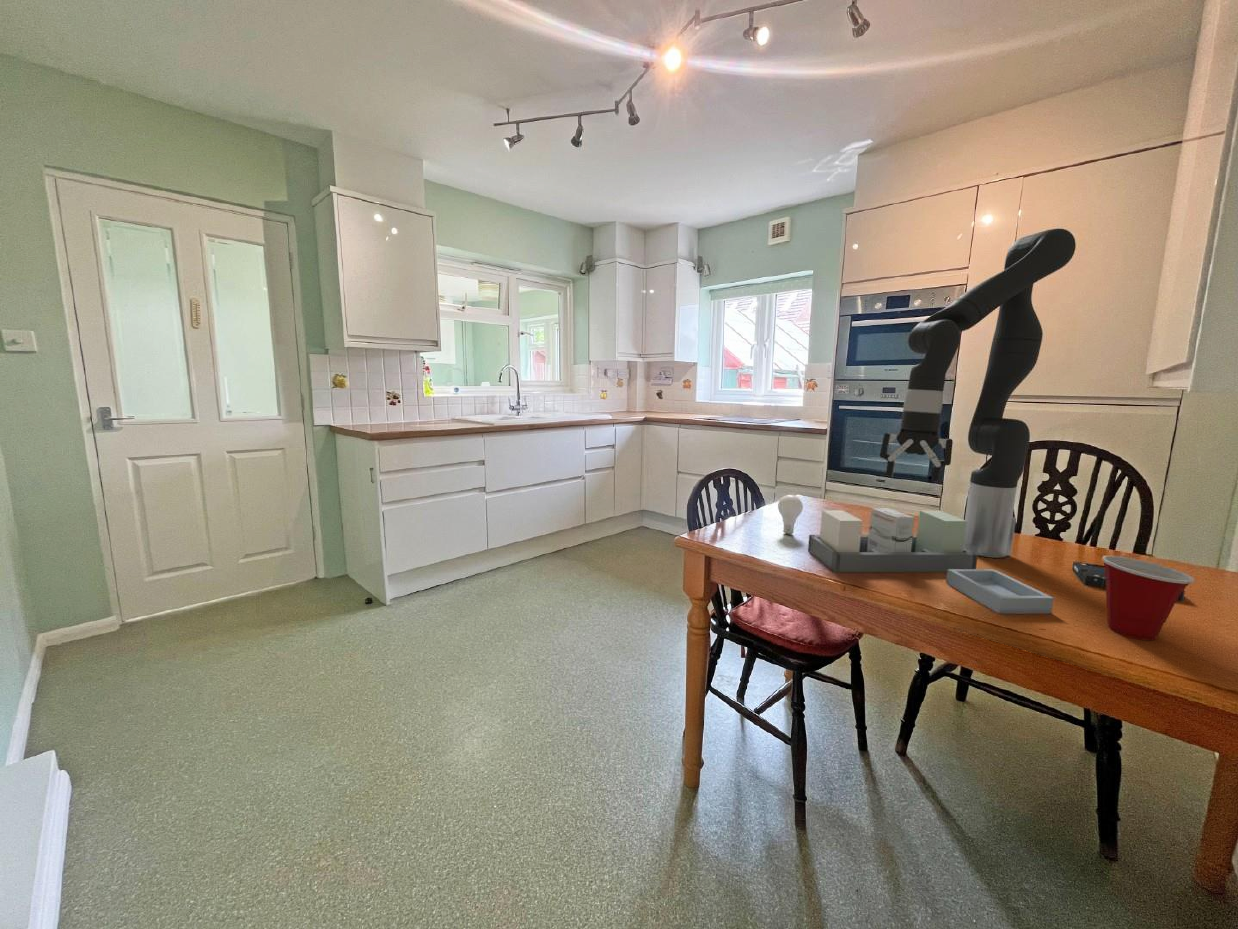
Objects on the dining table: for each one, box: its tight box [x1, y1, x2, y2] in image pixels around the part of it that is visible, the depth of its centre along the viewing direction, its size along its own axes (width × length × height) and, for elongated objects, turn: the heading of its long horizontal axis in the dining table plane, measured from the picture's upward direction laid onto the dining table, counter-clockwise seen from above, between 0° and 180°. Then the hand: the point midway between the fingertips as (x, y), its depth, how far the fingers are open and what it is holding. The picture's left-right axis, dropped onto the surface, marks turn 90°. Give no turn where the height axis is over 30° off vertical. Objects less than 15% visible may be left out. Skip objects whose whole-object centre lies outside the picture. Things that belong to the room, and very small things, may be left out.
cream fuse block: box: [819, 509, 863, 552], centre depth 116 cm, size 5×9×11 cm, turn 3°
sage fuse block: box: [915, 510, 967, 552], centre depth 117 cm, size 5×9×11 cm, turn 3°
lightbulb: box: [777, 494, 804, 535], centre depth 136 cm, size 6×6×11 cm
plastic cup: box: [1101, 555, 1195, 641], centre depth 84 cm, size 11×11×12 cm
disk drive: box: [1071, 561, 1186, 602], centre depth 106 cm, size 10×3×15 cm
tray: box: [945, 568, 1055, 615], centre depth 98 cm, size 10×14×3 cm
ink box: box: [867, 507, 916, 552], centre depth 117 cm, size 8×5×12 cm, turn 13°
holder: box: [807, 534, 979, 573], centre depth 117 cm, size 32×14×4 cm, turn 93°
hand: (910, 479), depth 118 cm, fingers open, 8 cm apart
